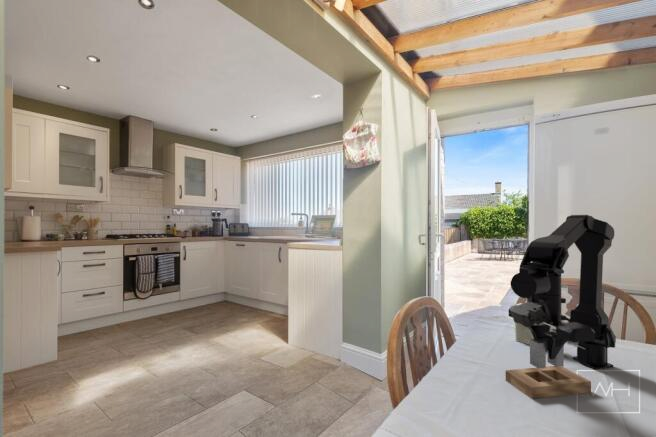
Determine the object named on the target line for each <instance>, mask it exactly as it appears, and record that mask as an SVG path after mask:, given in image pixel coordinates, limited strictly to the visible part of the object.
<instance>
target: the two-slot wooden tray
mask: <svg viewBox="0 0 656 437" xmlns="http://www.w3.org/2000/svg"><path fill="white" fill-rule="evenodd" d="M505 381H506V382H507V383H509V384H510V385H511V386H512V387H514V388H515V389H517V390H518V391H520V392H521V393H523V394H524V395H526V396H527V397H529V398H530V399H531V400H532V399H533V400H534V399H541V398H549V397H558V396H559V397H560V396H567V395H568V396H569V395H576V394H585V393H586V394H587V393H591V392H592V381H591V380H590V379H588V378H586V377H583V376H582V375H580V374H577V373H575V371H572V370H570V369H568V368H566V367H564V366H560V367H556V366H554V365H550V366H547V365H546V368H540V369H538V368H537V367H529V368H517V369H507V370H506V369H505Z"/></svg>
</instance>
